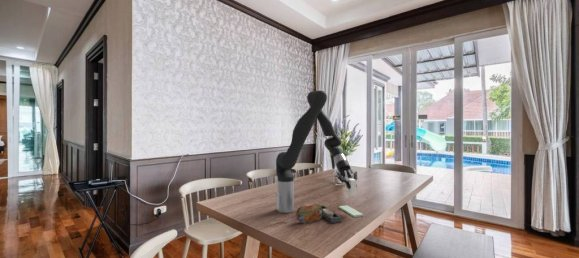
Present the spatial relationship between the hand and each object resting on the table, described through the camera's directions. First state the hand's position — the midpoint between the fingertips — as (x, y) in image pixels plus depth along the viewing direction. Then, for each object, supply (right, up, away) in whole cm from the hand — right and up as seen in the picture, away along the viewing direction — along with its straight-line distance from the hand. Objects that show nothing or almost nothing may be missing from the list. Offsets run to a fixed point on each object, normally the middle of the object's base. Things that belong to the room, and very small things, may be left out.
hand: (352, 187), depth 137 cm
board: (-1, -14, +2) cm, 14 cm away
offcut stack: (-15, -14, -4) cm, 21 cm away
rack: (-15, -14, -5) cm, 21 cm away
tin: (-25, -14, -12) cm, 31 cm away
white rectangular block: (-1, -4, +2) cm, 4 cm away
